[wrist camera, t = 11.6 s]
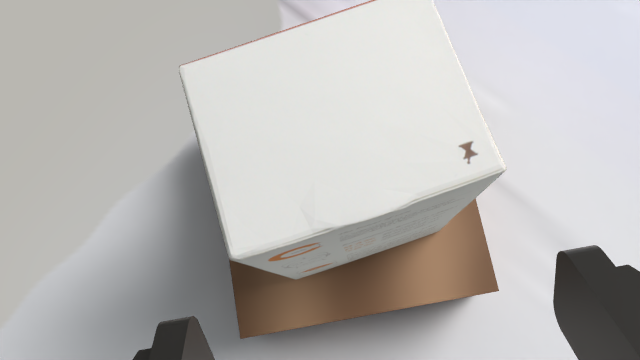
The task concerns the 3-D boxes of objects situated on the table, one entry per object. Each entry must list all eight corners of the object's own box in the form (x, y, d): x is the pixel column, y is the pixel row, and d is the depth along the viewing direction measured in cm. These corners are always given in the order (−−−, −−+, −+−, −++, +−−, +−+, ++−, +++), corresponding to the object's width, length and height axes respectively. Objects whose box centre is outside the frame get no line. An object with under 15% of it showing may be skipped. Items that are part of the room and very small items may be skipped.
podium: (427, 87, 34) (438, 51, 29) (477, 292, 31) (499, 290, 26) (228, 126, 34) (206, 98, 29) (259, 332, 31) (240, 338, 27)
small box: (399, 119, 28) (431, -26, 16) (442, 231, 27) (516, 172, 14) (255, 167, 28) (171, 62, 16) (291, 282, 27) (229, 269, 14)
